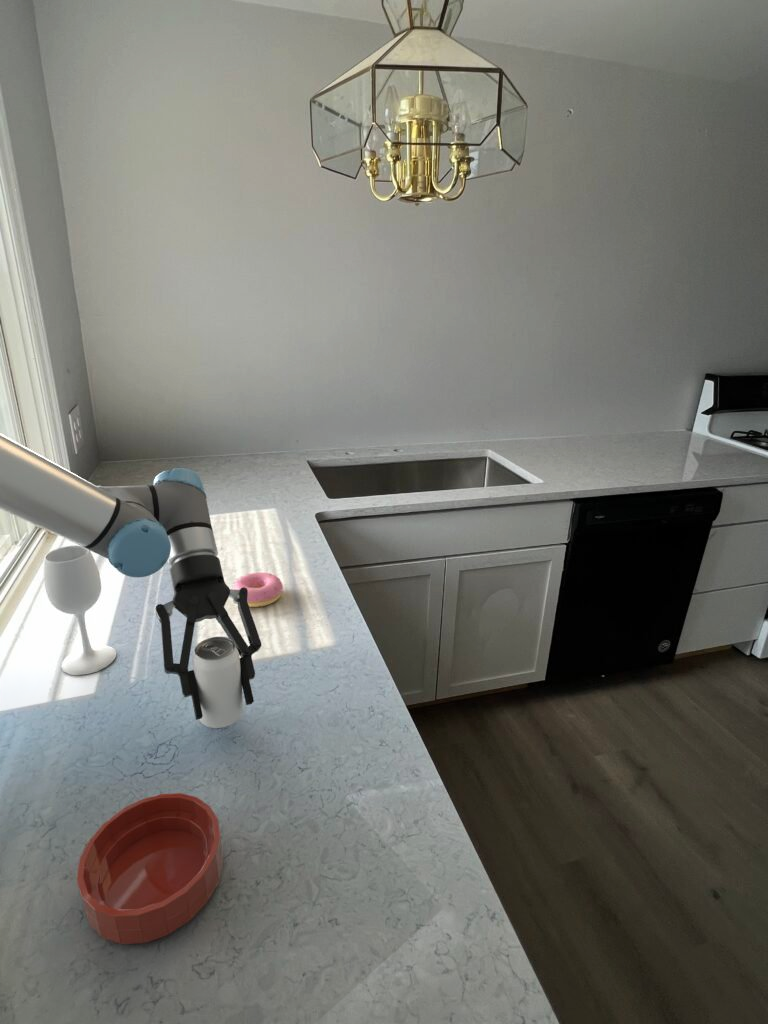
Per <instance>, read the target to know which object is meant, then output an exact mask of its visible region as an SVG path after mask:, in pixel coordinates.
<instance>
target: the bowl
mask: <svg viewBox="0 0 768 1024" xmlns="http://www.w3.org/2000/svg"><path fill="white" fill-rule="evenodd" d="M223 866H224V855H223V847H222V840H221V833H220V824H219V819H218V817H217V815H216V813H215V812H214V811H213V809H212V807H211V806H210V805H208V803H206V802H205V801H203V800H201V799H200V798H198V797H197V796H193V795H190V794H185V793H182V792H178V793H177V792H176V793H175V792H174V793H159V794H155V795H153V796H149V797H145V798H141V799H139V800H137V801H135V802H133V803H131V804H130V805H127V806H125V807H123V808H121V809H120V810H119V811H118V812H116V813H115V814H114V815H111V817H110V818H108V819H107V820H106V821H104V822H103V823H102V824H101V826H100V827H99V828H98V829H97V830H96V832H95V833H94V834H93V835H92V836H91V837H90V838H89V840H88V842H87V844H86V846H85V848H84V849H83V851H82V853H81V856H80V858H79V860H78V867H77V873H76V882H77V886H78V890H79V894H80V898H81V903H82V905H83V910H84V913H85V916H86V919H87V923H88V925H89V926H90V927H91V928H92V929H93V930H94V931H95V933H96V934H98V936H100V937H101V938H102V939H104V940H107V941H110V942H114V943H116V944H119V945H130V944H133V945H134V944H146V943H149V942H152V941H155V940H157V939H160V938H163V937H166V936H169V935H170V934H172V933H174V932H175V931H176V930H178V929H179V928H181V927H183V926H184V925H186V924H187V923H189V922H190V921H191V920H192V919H193V918H195V916H196V915H197V914H198V913H199V912H200V911H201V910H202V909H203V908H204V907H205V905H206V904H207V903H208V902H209V900H210V899H211V897H212V895H213V894H214V891H215V890H216V888H217V886H218V885H219V882H220V879H221V876H222V869H223Z"/></svg>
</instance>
